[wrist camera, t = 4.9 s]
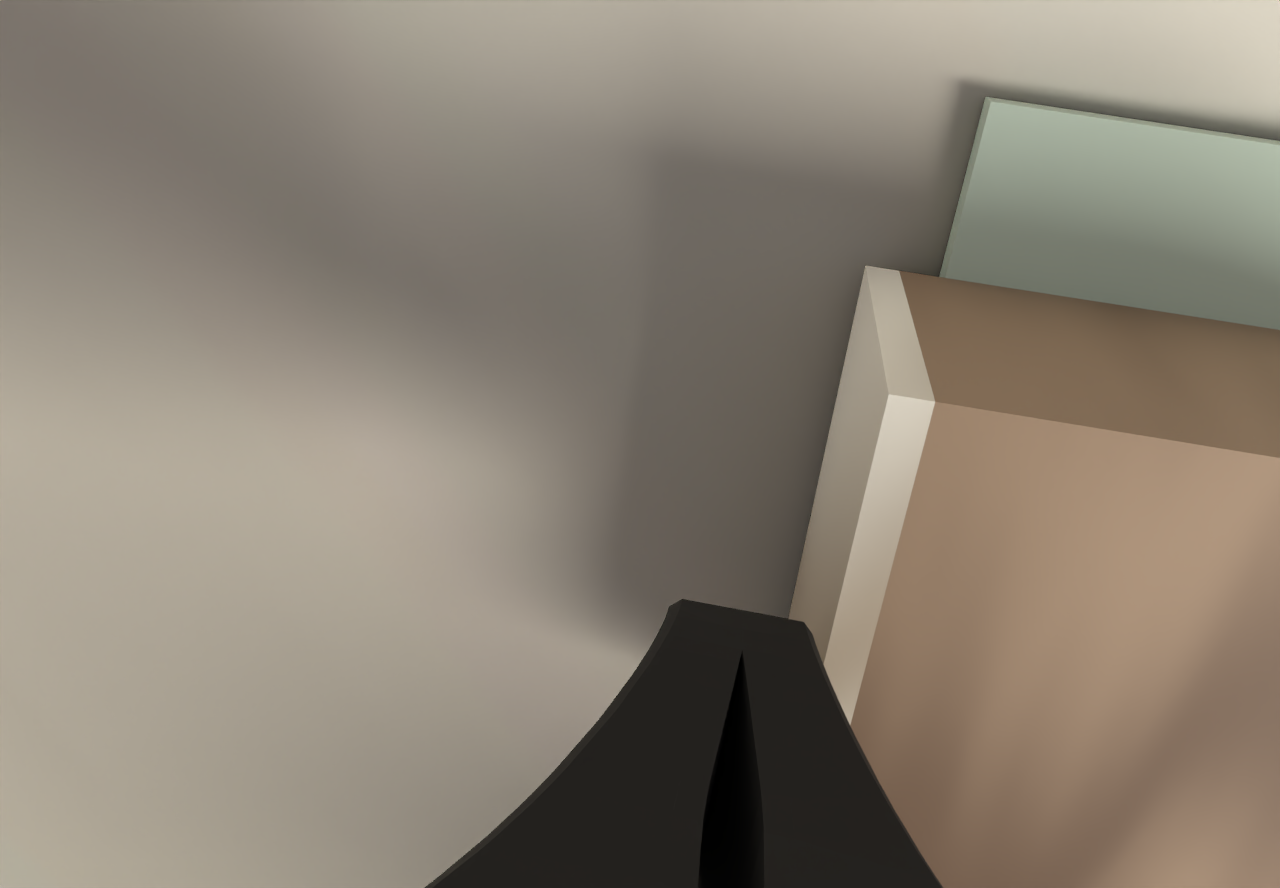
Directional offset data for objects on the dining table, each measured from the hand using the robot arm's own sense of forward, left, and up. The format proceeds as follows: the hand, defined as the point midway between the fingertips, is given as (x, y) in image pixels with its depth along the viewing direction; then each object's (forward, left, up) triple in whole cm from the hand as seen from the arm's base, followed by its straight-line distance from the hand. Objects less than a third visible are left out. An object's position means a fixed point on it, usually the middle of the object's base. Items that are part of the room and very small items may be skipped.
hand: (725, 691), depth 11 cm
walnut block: (0, -1, -2) cm, 2 cm away
